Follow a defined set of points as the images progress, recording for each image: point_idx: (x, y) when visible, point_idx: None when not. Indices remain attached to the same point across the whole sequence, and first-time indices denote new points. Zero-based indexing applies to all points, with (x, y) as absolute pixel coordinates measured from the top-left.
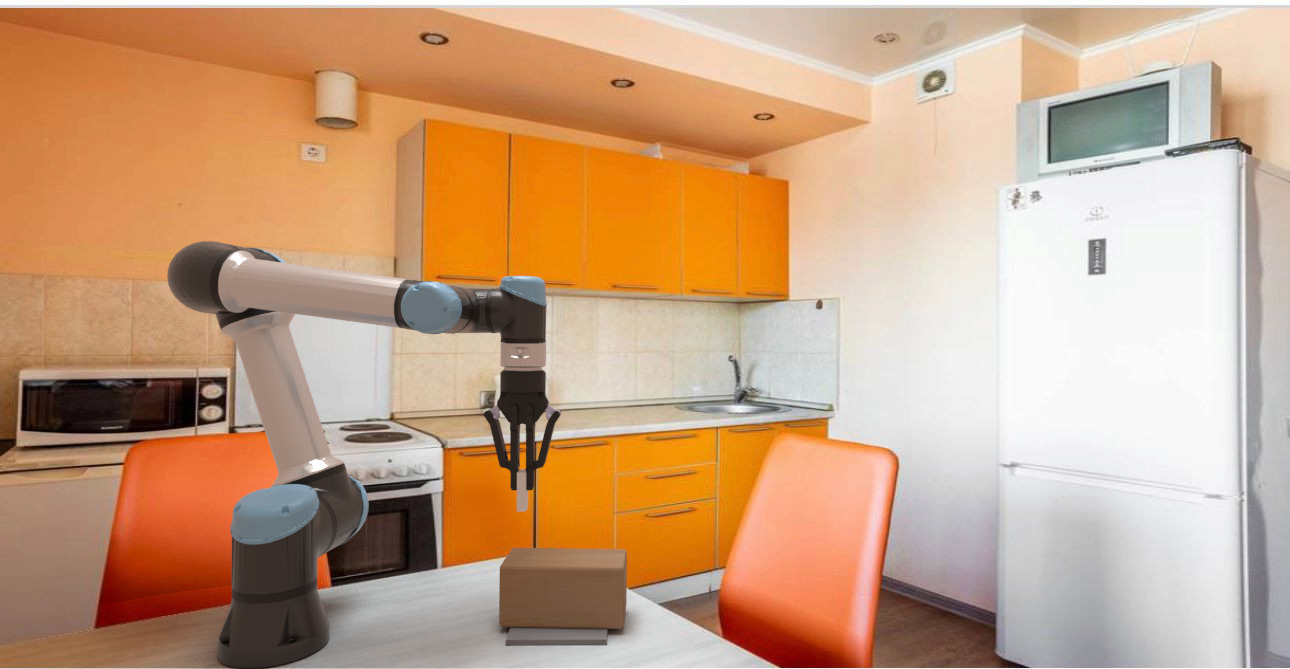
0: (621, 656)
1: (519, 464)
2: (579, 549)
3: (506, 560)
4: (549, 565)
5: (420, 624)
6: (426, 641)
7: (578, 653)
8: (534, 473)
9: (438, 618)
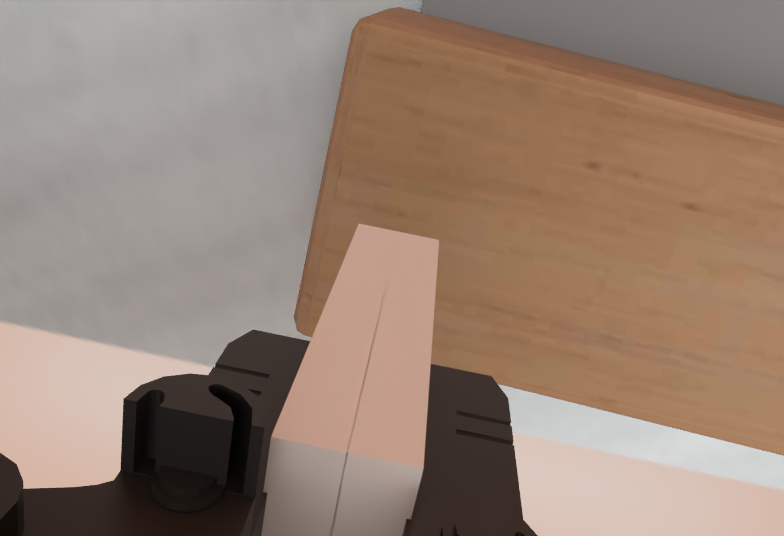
0: (697, 460)
1: (249, 515)
2: (770, 160)
3: (323, 269)
4: (536, 386)
5: (56, 93)
6: (113, 240)
7: (577, 417)
8: (520, 505)
9: (108, 47)
